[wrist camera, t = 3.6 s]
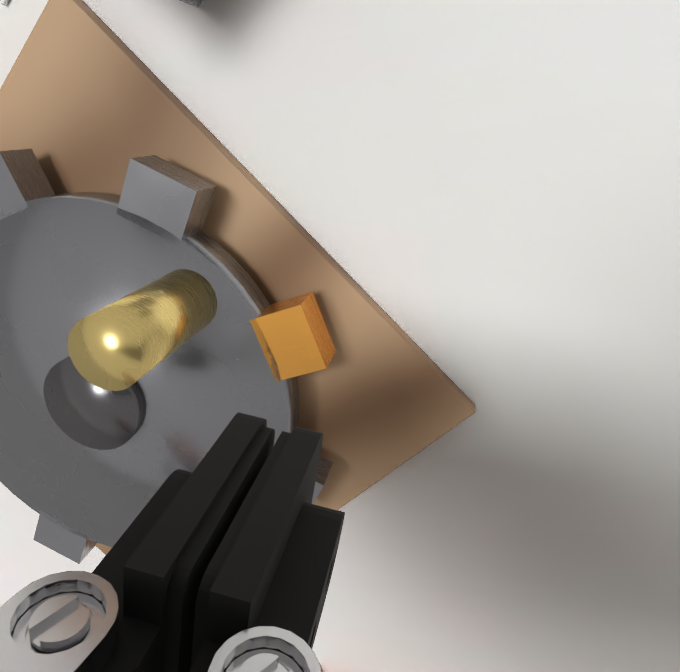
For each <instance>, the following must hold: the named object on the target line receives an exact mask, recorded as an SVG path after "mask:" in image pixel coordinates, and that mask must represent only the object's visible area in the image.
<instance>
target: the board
mask: <svg viewBox="0 0 680 672" xmlns="http://www.w3.org/2000/svg"><path fill="white" fill-rule="evenodd" d="M21 149H32V150H33V152H34V154H35V156H36V158H37V160H38V162H39V164H40V166H41V168H42V170H43V172H44V174H45V176H46V178H47V180H48V182H49V184H50V186H51V188H52V190H53V191H54V193H55V195H58V194H63V193H75V192H99V193H110V194H117V195H121V193H122V189H123V185H124V181H125V177H126V173H127V170H128V166H129V162H130V158H136V157H143V156H151V155H156V156H158V157H160V158H162V159H164V160H166V161H168V162H170V163H172V164H174V165H176V166H178V167H180V168H182V169H184V170H186V171H188V172H190V173H192V174H194V175H196V176H198V177H200V178H202V179H204V180H206V181H208V182H210V183H212V184H214V185H216V189H215V192H214V195H213V198H212V202H211V205H210V208H209V211H208V214H207V217H206V220H205V223H204V226H203V229H202V232H203V233H205V234H206V235H208V236H209V237H210V238H212V239H213V240H214V241H215V242H216V243H218V244H219V245H220V246H221V247H222V248H223V249H224V250H225V251H227V252H228V253H229V254H230V255H231V256H232V257H233V258H234V259H235V260H236V261H237V262H238V263H239V264H240V266H241V267H242V268H243V269H244V270H245V271H246V272H247V273H248V275H249V276H250V277H251V278H252V279H253V280H254V282H255V283H256V285H257V286H258V288H259V289H260V290H261V292H262V293H263V295H264V296H265V298H266V299H267V300H268V302H269V304H273V303H277V302H280V301H283V300H286V299H289V298H293V297H296V296H299V295H302V294H305V293H309V292H312V291H313V293H314V296H315V298H316V301H317V304H318V306H319V309H320V311H321V314H322V316H323V319H324V321H325V324H326V327H327V329H328V332H329V334H330V337H331V339H332V342H333V344H334V347H335V350H336V352H335V354H334V356H333V358H332V359H331V361H330V363H329V365H328V366H327V368H326V369H323V370H319V371H315V372H311V373H307V374H303V375H300V376H297V380H298V389H299V422H298V427H300V428H304V429H308V430H312V431H317V432H321V433H323V441H322V447H321V453H320V456H321V457H323V458H325V459H327V460H329V461H331V462H333V464H332V466H331V469H330V471H329V474H328V476H327V479H326V481H325V484H324V486H323V488H322V490H321V491H320V493H319V495H318V497H317V499H316V500H315V502H314V505H318V506H322V507H326V508H329V509H333V510H338V509H339V508H341V507H342V506H344V505H345V504H346V503H348V502H349V501H351V500H352V499H353V498H355V497H356V496H358V495H359V494H361V493H362V492H363V491H365V490H366V489H368V488H369V487H370V486H372V485H373V484H375V483H376V482H377V481H379V480H380V479H382V478H383V477H385V476H386V475H387V474H389V473H390V472H392V471H393V470H394V469H396V468H397V467H399V466H400V465H401V464H403V463H404V462H406V461H407V460H409V459H410V458H411V457H413V456H414V455H416V454H417V453H418V452H420V451H421V450H423V449H424V448H425V447H427V446H428V445H430V444H431V443H433V442H434V441H435V440H437V439H438V438H440V437H441V436H442V435H444V434H445V433H447V432H448V431H449V430H451V429H452V428H454V427H455V426H457V425H458V424H459V423H461V422H462V421H464V420H465V419H466V418H468V417H469V416H471V415H472V414H473V413H475V404H474V403H473V402H472V401H471V400H470V399H469V398H468V397H467V396H466V395H465V394H464V393H463V392H462V391H461V390H460V389H459V388H458V387H457V386H456V385H455V384H454V383H453V382H452V381H451V380H450V379H449V378H448V376H447V375H446V374H445V373H444V372H443V371H442V370H441V369H440V368H439V367H438V366H437V365H436V364H435V363H434V362H433V361H432V360H431V359H430V358H429V357H428V356H427V355H426V354H425V353H424V352H423V351H422V350H421V349H420V348H419V347H418V346H417V345H416V344H415V343H414V342H413V340H412V339H411V338H410V337H409V336H408V335H407V334H406V333H405V332H404V331H403V330H402V329H401V328H400V327H399V326H398V325H397V324H396V323H395V322H394V321H393V320H392V319H391V318H390V317H389V316H388V315H387V314H386V313H385V312H384V311H383V310H382V309H381V308H380V307H379V306H378V304H377V303H376V302H375V301H374V300H373V299H372V298H371V297H370V296H369V295H368V294H367V293H366V292H365V291H364V290H363V289H362V288H361V287H360V286H359V285H358V284H357V283H356V282H355V281H354V280H353V279H352V278H351V277H350V276H349V275H348V274H347V273H346V272H345V271H344V270H343V268H342V267H341V266H340V265H339V264H338V263H337V262H336V261H335V260H334V259H333V258H332V257H331V256H330V255H329V254H328V253H327V252H326V251H325V250H324V249H323V248H322V247H321V246H320V245H319V244H318V243H317V242H316V241H315V240H314V239H313V238H312V237H311V236H310V235H309V234H308V232H307V231H306V230H305V229H304V228H303V227H302V226H301V225H300V224H299V223H298V222H297V221H296V220H295V219H294V218H293V217H292V216H291V215H290V214H289V213H288V212H287V211H286V210H285V209H284V208H283V207H282V206H281V205H280V204H279V203H278V202H277V201H276V200H275V199H274V198H273V196H272V195H271V194H270V193H269V192H268V191H267V190H266V189H265V188H264V187H263V186H262V185H261V184H260V183H259V182H258V181H257V180H256V179H255V178H254V177H253V176H252V175H251V174H250V173H249V172H248V171H247V170H246V169H245V168H244V167H243V166H242V165H241V164H240V163H239V161H238V160H237V159H236V158H235V157H234V156H233V155H232V154H231V153H230V152H229V151H228V150H227V149H226V148H225V147H224V146H223V145H222V144H221V143H220V142H219V141H218V140H217V139H216V138H215V137H214V136H213V135H212V134H211V133H210V132H209V131H208V130H207V129H206V128H205V127H204V125H203V124H202V123H201V122H200V121H199V120H198V119H197V118H196V117H195V116H194V115H193V114H192V113H191V112H190V111H189V110H188V109H187V108H186V107H185V106H184V105H183V104H182V103H181V102H180V101H179V100H178V99H177V98H176V97H175V96H174V95H173V94H172V93H171V92H170V91H169V89H168V88H167V87H166V86H165V85H164V84H163V83H162V82H161V81H160V80H159V79H158V78H157V77H156V76H155V75H154V74H153V73H152V72H151V71H150V70H149V69H148V68H147V67H146V66H145V65H144V64H143V63H142V62H141V61H140V60H139V59H138V58H137V57H136V56H135V55H134V53H133V52H132V51H131V50H130V49H129V48H128V47H127V46H126V45H125V44H124V43H123V42H122V41H121V40H120V39H119V38H118V37H117V36H116V35H115V34H114V33H113V32H112V31H111V30H110V29H109V28H108V27H107V26H106V25H105V24H104V23H103V22H102V21H101V20H100V19H99V17H98V16H97V15H96V14H95V13H94V12H93V11H92V10H91V9H90V8H89V7H88V6H87V5H86V4H85V3H84V2H83V1H82V0H49V1H48V3H47V5H46V6H45V8H44V10H43V12H42V14H41V16H40V17H39V19H38V21H37V23H36V25H35V27H34V28H33V30H32V32H31V34H30V36H29V38H28V39H27V41H26V43H25V45H24V47H23V48H22V50H21V52H20V54H19V56H18V58H17V59H16V61H15V63H14V65H13V67H12V69H11V70H10V72H9V74H8V76H7V78H6V80H5V81H4V83H3V85H2V87H1V89H0V151H8V150H21ZM95 546H96V547H98V548H99V549H100V550H101V551H102V552H103V553H104V554H106V555H107V553H108V552H109V551H110V550H111V548H112V547H109V546H106V545H103V544H100V543H97V544H96V545H95Z"/></svg>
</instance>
